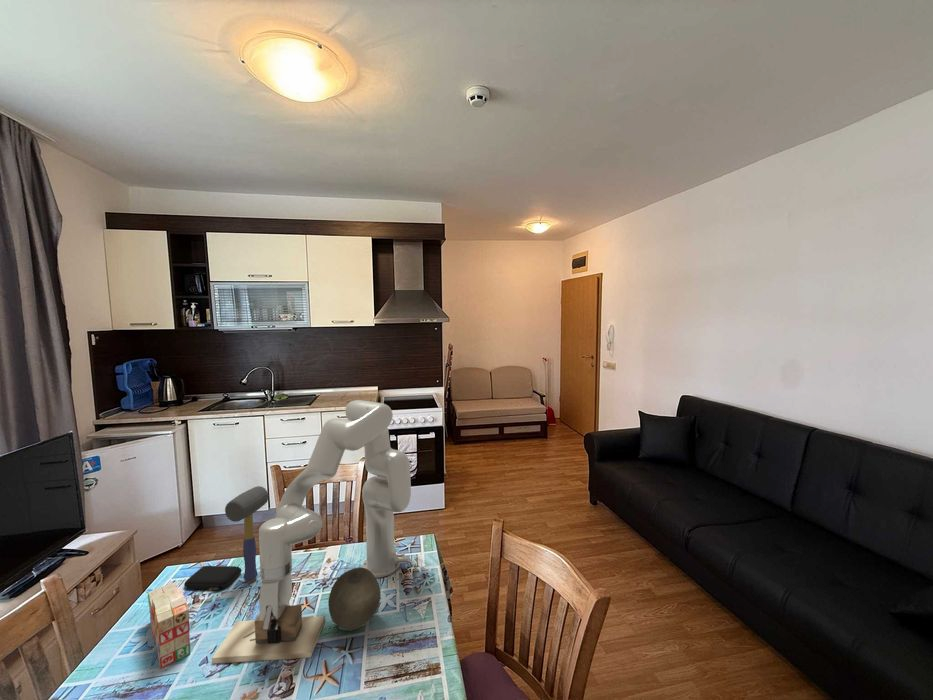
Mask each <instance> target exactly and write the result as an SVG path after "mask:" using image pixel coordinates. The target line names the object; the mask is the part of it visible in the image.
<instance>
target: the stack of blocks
mask: <svg viewBox="0 0 933 700" xmlns="http://www.w3.org/2000/svg"><path fill="white" fill-rule="evenodd" d="M147 597H148V598H147V600H148V606H149V607H148V608H149V616H150V617H149V618H150V620H149V621H150V626H151V630H152V631H151V632H152V636H153V640H154V643H155V647H156V652H157V655H156V656H157V658H158V664H159V669H160V670H161V669H164V668H166V667H167V666H169V665H173V664H174V663H175V662H177V661H180V660H182V659H183V658H185V657H187V656H189V655H191V641H190V640H191V639H190V638H191V636H190V609H189V606H188V603H187V600H186V598H185V595H184V593H183V591H182V589H181V587H180V586H177V585H176V582H175V581H174V582H173V581H172V582H171V583H169V584H166V585H162V586H161V587H158V588H155V589H153V590H150V591H148V592H147Z"/></svg>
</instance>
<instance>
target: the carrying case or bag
mask: <svg viewBox="0 0 933 700" xmlns="http://www.w3.org/2000/svg"><path fill="white" fill-rule="evenodd" d="M241 573H242V568H241V567H239V566H232V565H231V566H229V565H228V566H227V565H204V566H202V567H200V568H199V569H197V570H196V571H195V572H194V573H193V574H192V575H191V576H190V577H188V578H187V579H186V581H184V583H183V584H184V585H183V586H184V588H186V589H187V590H192V589H193V590H208V591H209V592H213V591H218V590H225V589H226V588H228V587H229V586H230V585H231V584H232V583H233V582H234V581H235V580H237V578H238V577H239V575H241Z"/></svg>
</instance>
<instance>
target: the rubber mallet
mask: <svg viewBox="0 0 933 700" xmlns="http://www.w3.org/2000/svg"><path fill="white" fill-rule="evenodd" d="M269 497H270V496H269V492H268V490H267V489H266V488H265V487H263V486H260V485H257V486H253V487H252V488H250V489H248V490H246V491H244V492H242V493H239V495H237V496H235V497H234V498H233V499H231V500H230V501H228V503H227V504H226V505H225V508H224V511H225V516H226V517H227V518H228V520H230V521H231V522H235V523H236V522H237V523H238V522H240V521H242V520H244V521H243V523H244V524H243V525H244V539H243V546H242V554H243V559H244V561H243V562H244V574H243V580H244V581H245V582H246V583H253V582H254V581H256V580H257V578H258V574H259V573H258V569H257V561H256V560H257V559H256V558H257V545H256V538H255V535H254V534H255V533H254V518H253V515H254V513H256V512H257V511H258V510H259V509H261V508H263V506H265V505H266V504H267V503H268V501H269Z"/></svg>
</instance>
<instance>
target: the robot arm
mask: <svg viewBox="0 0 933 700" xmlns="http://www.w3.org/2000/svg"><path fill="white" fill-rule="evenodd" d="M344 413H345V416H346V418H347V419H346V418H345V419H344V418H331V419H328V420H327V421H326V422H325V423H324V424H323V426H322V429H321V430H320V434H319V436H318V438H317V441H316V443H315V444H314V445H315V446H314V448H313V451H312V453H311V456H310V458H309V460H308V463H307V465H306V467H305V468H304V470H302V471H301V472H300V473H299V474H298V475H297V476H296V477H295V478H294V479H292V482H290V483H289V485H288V486H287V487H286V489H285V491H284V492H283V494H282V497H281V498H280V502H279V505H278V507H277V509H276V512H275V517H274V518H271V519H269V520H266V521H265V522H263V523H262V524H261V525H260V527H259V530H258V545H259V546H258V547H259V569H260V580H261V583H260V589H259V590H260V591H259V607H258V608H259V611H258V615H259V616H260V620H261V621H262V620H264V619H265V621H264V626H263V630H266V631H267V642H268V644H271V643H280V641H281V627H279V620H280V616H281V615H282V613H283V611H284V609H285V607H286V606H291V605H290V600H291V598H292V595H293V578H292V577H293V576H292V573H293V572H292V571H293V556H292V555H293V554H292V553H293V550H292V546H294V545H296V544H300V543H304V542H306V541H309V540H312V539H313V538H314V537H316V536H317V535H318V534H319V533H320V532H321V530H322V528H323V525H324V524H323V523H324V520H323V517H322V516H321V515H320V514H319V513H318V512H316V511H314V510H311V509H309V508H307V507H304V506H303V504H304V501H305V498H306V497H307V495H308V493H309V492H310V490H311V489H313V487H315V486H317V484H319V483H321V482H323V481H326V480H329V479H333V478H334V477H336V474H337V473H338V470H339V466H340V463H341V461H342V458H343V456H344V453H345V451H350V452H353V451H358V450H360V449H362V448H363V447H364V449H363V450H364V465H365V469H366V471H367V472H368V473H369V474H371V475H373V476H371V477H369V478H368V479H366V481H365V482H364V484H363V486H362V490H361V491H362V492H361V493H362V494H361V497H362V501H363V505H364V511H365V512H364V513H365V532H366V533H365V537H366V539H365V540H366V541H365V542H366V559H365V561H363V563H362V565H361V567H362V568H366V569H368V570H369V571H371V572H372V574H373V575H374V576H375V578H376V579H379V578H384V577H388V576H390V575H392V574H394V573H395V572H396V571H397V570H398V569H399V567H400V564H401V563H402V564H404V563H405V564H407V563H408V559H409V557H408V556H406V553H404V552H401V553H398V552H397V548H396V547H395V546H396V545H395V515H394V513H402V512H403V511H405V510H406V509H407V508H408V506H409V504H410V502H411V497H412V485H411V484H412V483H411V482H412V481H411V480H412V479H411V464H410V459H409V457H408V456H407V454H406V453H405V452H403V451H401V450H397V449H395V448H392V447H391V441H390V434H389V433H390V431H389V428H388V427H389V426H390V424H392V421H393V415H394V414H393V411H392V409H391V407H390V406H389V405H387V404H386V403H382V402H376V401H368V400H363V399H361V400H360V399H355V400H351V401H350V402H348V403H347V404H346V406H345V412H344ZM272 614H273V615H272ZM273 619H276V623H275V624H274V623H271V620H273Z"/></svg>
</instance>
